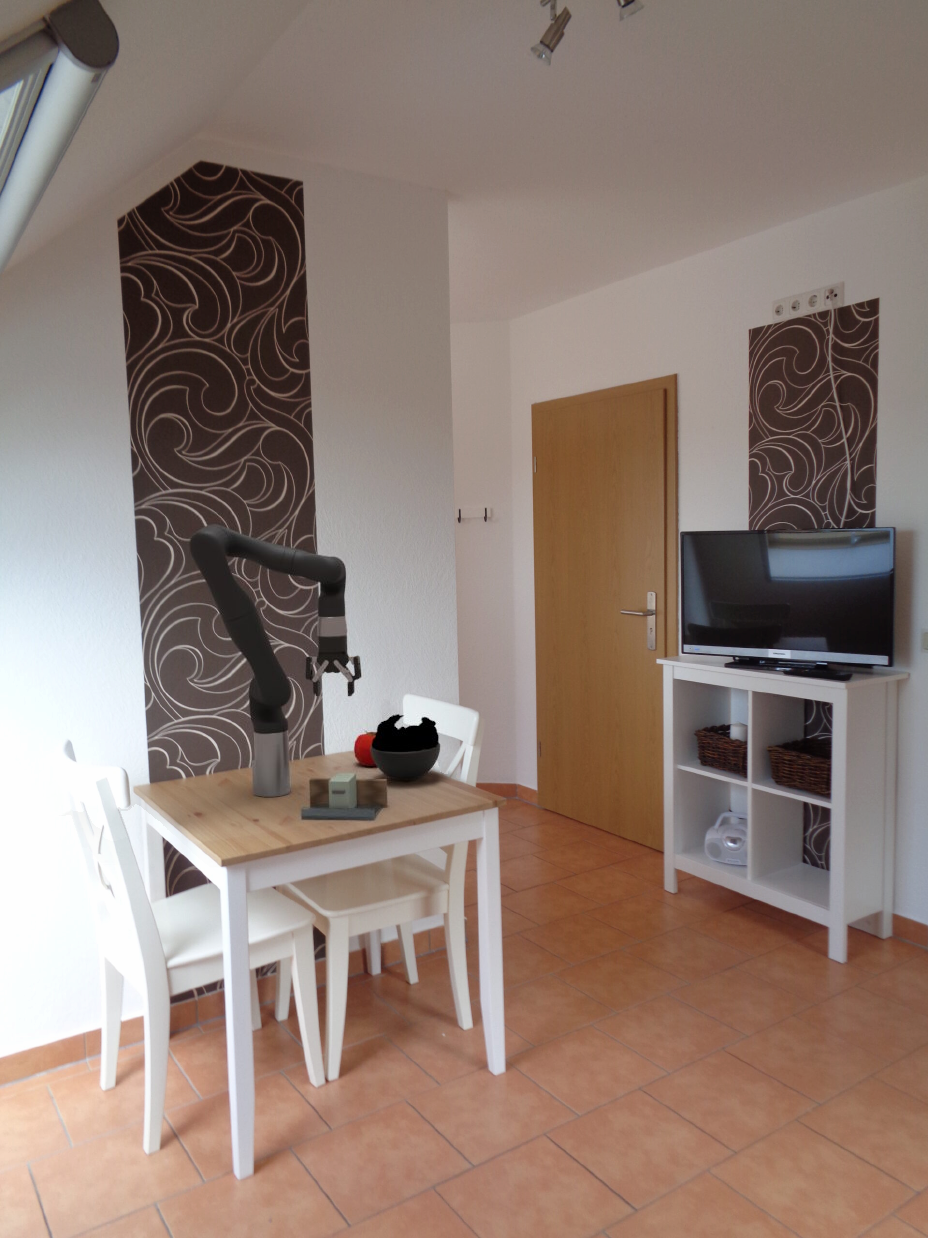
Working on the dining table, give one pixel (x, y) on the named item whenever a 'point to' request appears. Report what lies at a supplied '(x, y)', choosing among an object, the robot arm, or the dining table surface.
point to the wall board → (366, 788)
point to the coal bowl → (405, 748)
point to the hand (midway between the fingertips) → (334, 695)
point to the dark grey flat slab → (341, 812)
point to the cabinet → (343, 791)
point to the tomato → (364, 748)
